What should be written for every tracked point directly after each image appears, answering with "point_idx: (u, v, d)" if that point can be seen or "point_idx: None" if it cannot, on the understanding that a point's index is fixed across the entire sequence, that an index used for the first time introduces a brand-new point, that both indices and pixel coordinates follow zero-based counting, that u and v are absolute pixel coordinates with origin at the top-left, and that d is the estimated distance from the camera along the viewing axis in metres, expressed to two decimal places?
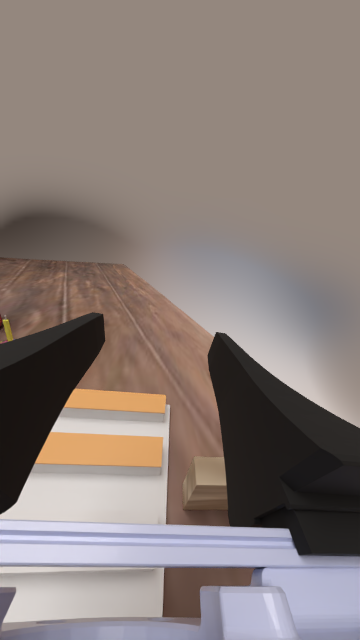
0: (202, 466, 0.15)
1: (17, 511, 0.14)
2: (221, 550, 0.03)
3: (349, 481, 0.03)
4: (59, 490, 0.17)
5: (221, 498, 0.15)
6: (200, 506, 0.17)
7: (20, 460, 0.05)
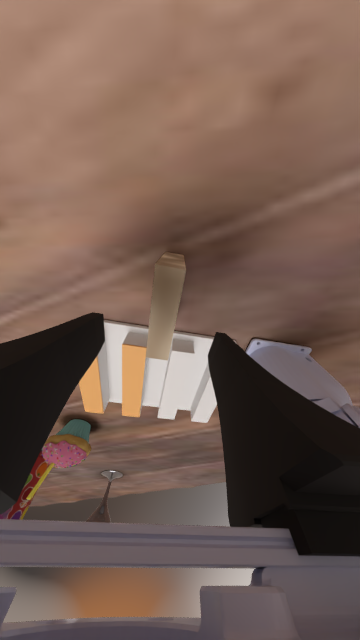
0: (155, 352, 0.13)
1: (160, 407, 0.26)
2: (221, 550, 0.03)
3: (349, 481, 0.03)
4: (152, 386, 0.27)
5: None
6: None
7: (20, 460, 0.05)
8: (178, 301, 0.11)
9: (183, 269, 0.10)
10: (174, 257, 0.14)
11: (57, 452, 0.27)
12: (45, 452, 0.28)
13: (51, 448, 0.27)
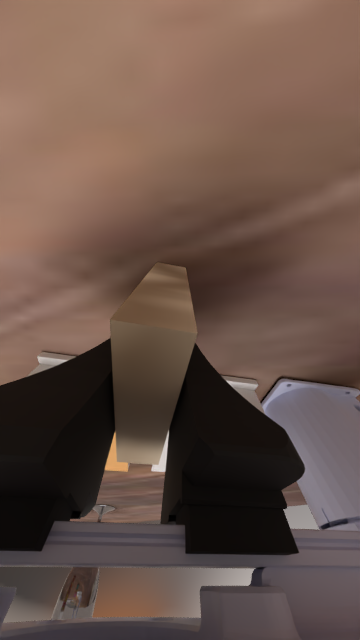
0: (133, 456, 0.07)
1: None
2: (221, 550, 0.03)
3: (240, 474, 0.03)
4: None
5: None
6: None
7: (100, 465, 0.05)
8: (176, 391, 0.05)
9: (189, 330, 0.04)
10: (170, 276, 0.08)
11: None
12: None
13: None
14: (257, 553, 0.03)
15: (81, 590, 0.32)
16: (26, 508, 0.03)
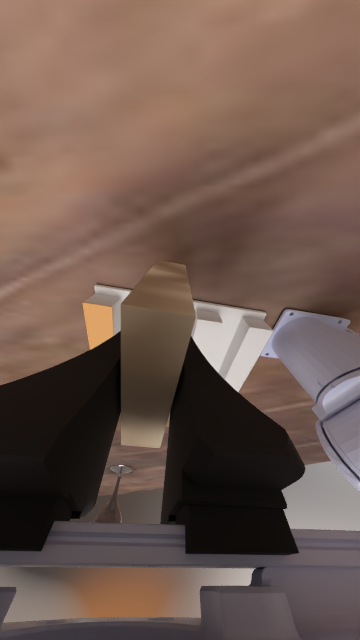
0: (137, 439, 0.07)
1: None
2: (221, 550, 0.03)
3: (240, 473, 0.03)
4: None
5: None
6: None
7: (100, 465, 0.05)
8: (177, 372, 0.05)
9: (189, 314, 0.04)
10: (170, 272, 0.08)
11: None
12: None
13: None
14: (257, 554, 0.03)
15: None
16: (26, 508, 0.03)
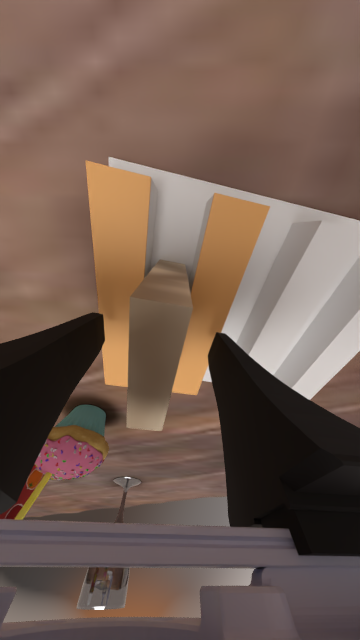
0: (140, 422, 0.08)
1: None
2: (221, 550, 0.03)
3: (349, 481, 0.03)
4: None
5: None
6: None
7: (20, 460, 0.05)
8: (177, 357, 0.06)
9: (187, 305, 0.05)
10: (171, 270, 0.09)
11: (57, 454, 0.16)
12: None
13: (46, 448, 0.16)
14: None
15: (113, 568, 0.27)
16: None
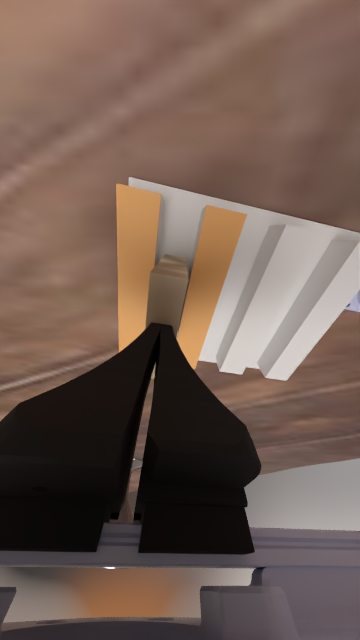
0: None
1: (228, 352, 0.18)
2: (221, 550, 0.03)
3: (194, 471, 0.03)
4: (213, 325, 0.19)
5: None
6: None
7: (129, 467, 0.05)
8: (178, 316, 0.09)
9: (185, 278, 0.08)
10: (174, 261, 0.12)
11: None
12: None
13: None
14: (214, 553, 0.03)
15: None
16: (80, 510, 0.03)
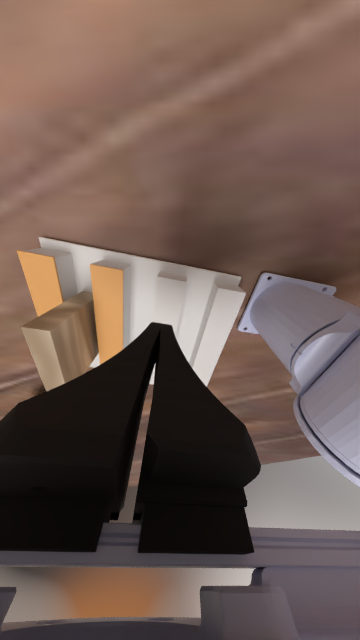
0: None
1: None
2: (221, 550, 0.03)
3: (194, 470, 0.03)
4: None
5: (85, 346, 0.17)
6: None
7: (129, 467, 0.05)
8: (54, 353, 0.12)
9: (48, 330, 0.11)
10: (75, 303, 0.15)
11: None
12: None
13: None
14: (214, 553, 0.03)
15: None
16: (79, 510, 0.03)
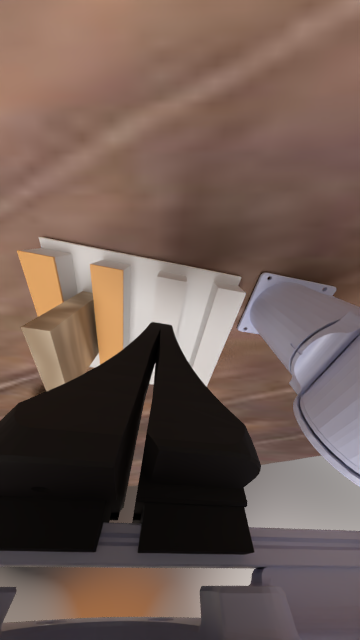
0: None
1: None
2: (221, 550, 0.03)
3: (194, 471, 0.03)
4: None
5: (85, 346, 0.17)
6: None
7: (129, 467, 0.05)
8: (54, 353, 0.12)
9: (48, 330, 0.11)
10: (75, 303, 0.15)
11: None
12: None
13: None
14: (214, 553, 0.03)
15: None
16: (79, 510, 0.03)
